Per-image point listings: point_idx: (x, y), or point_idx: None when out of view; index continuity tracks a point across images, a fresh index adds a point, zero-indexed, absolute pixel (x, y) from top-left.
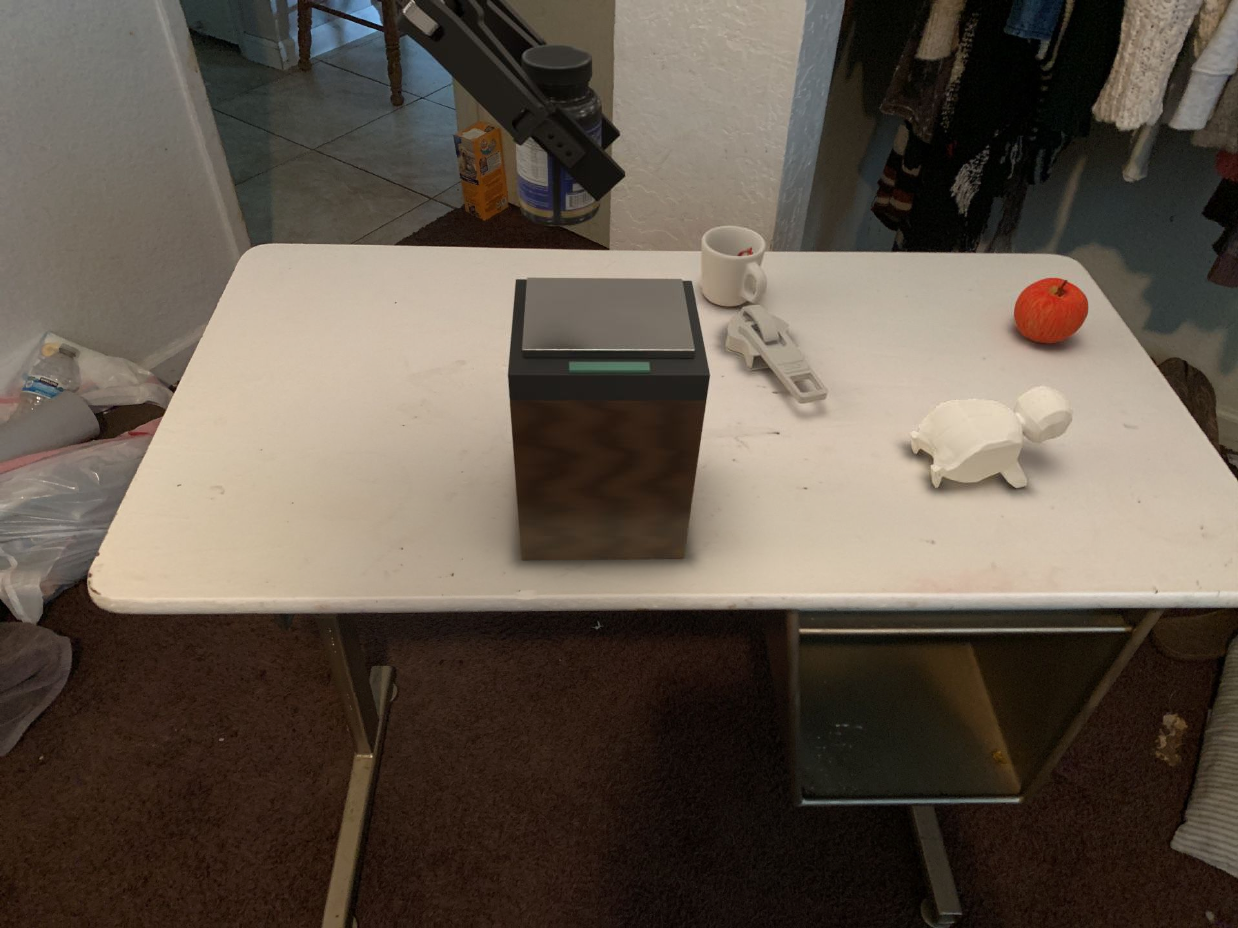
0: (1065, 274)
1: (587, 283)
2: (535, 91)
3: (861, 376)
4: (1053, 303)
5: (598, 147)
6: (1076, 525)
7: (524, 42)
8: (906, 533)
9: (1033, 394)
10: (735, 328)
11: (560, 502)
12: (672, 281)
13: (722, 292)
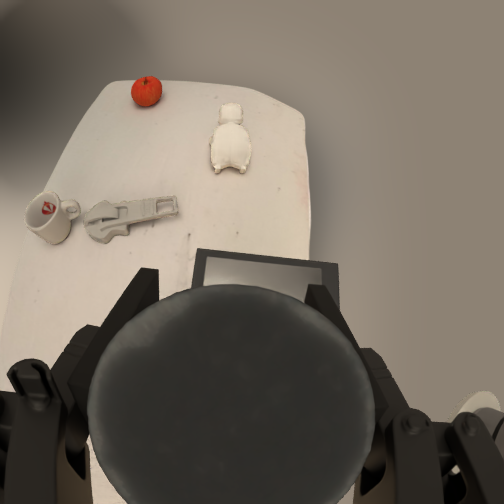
0: (114, 83)
1: None
2: (433, 458)
3: (151, 177)
4: (152, 86)
5: (339, 321)
6: (271, 135)
7: (59, 501)
8: (273, 196)
9: (226, 111)
10: (97, 232)
11: None
12: (210, 266)
13: (64, 231)
